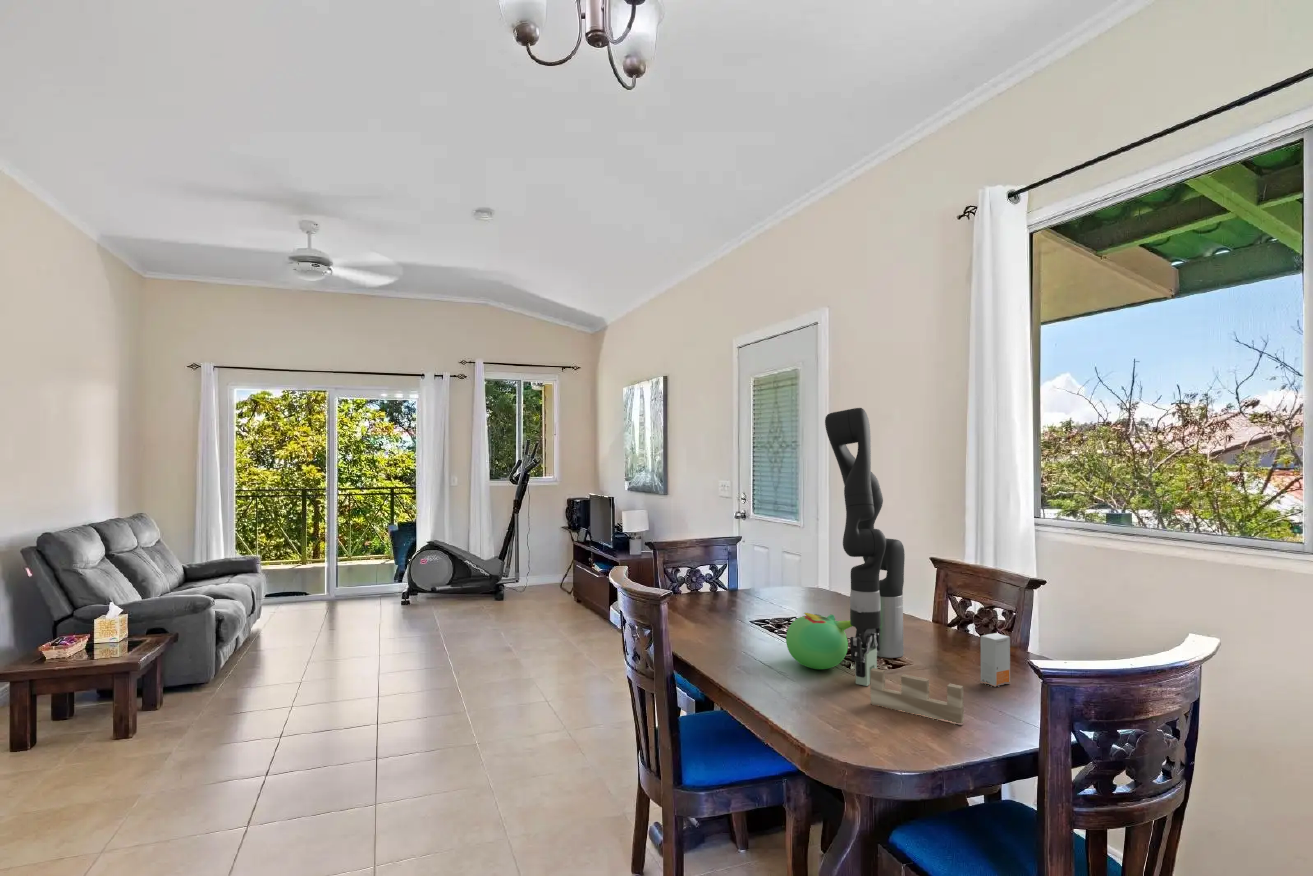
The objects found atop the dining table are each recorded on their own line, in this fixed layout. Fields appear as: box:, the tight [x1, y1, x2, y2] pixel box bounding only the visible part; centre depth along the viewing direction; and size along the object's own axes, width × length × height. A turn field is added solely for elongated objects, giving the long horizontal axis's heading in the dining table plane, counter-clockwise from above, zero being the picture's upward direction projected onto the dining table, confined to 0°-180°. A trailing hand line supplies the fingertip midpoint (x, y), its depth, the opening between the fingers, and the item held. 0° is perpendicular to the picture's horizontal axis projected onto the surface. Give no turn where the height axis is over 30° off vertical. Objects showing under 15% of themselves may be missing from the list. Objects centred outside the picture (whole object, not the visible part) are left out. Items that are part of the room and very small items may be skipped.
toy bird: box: [785, 612, 853, 670], centre depth 187 cm, size 18×17×15 cm
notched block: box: [854, 648, 878, 687], centre depth 174 cm, size 6×3×8 cm, turn 141°
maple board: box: [869, 668, 965, 723], centre depth 154 cm, size 2×20×8 cm, turn 50°
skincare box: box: [980, 632, 1011, 685], centre depth 173 cm, size 6×4×12 cm
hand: (866, 672), depth 174 cm, fingers closed on notched block, 6 cm apart
